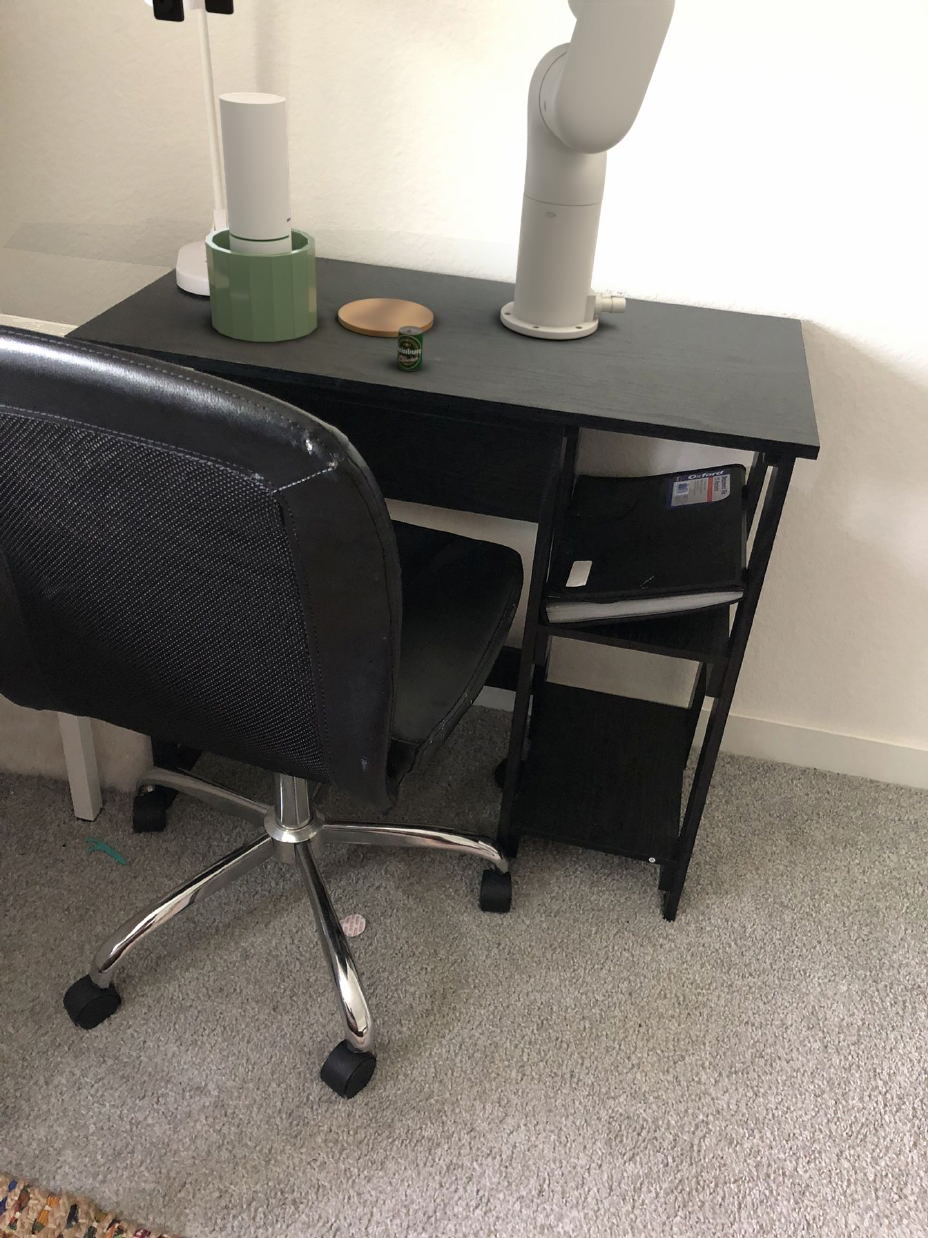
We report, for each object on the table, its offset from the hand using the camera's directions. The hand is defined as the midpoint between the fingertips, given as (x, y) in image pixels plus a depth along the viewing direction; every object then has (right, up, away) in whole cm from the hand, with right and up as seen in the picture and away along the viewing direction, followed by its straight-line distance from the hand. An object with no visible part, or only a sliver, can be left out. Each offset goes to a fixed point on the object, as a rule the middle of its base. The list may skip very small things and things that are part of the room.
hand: (195, 16), depth 105 cm
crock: (+3, -26, +19) cm, 33 cm away
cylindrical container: (+3, -26, +19) cm, 33 cm away
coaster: (+18, -25, +23) cm, 38 cm away
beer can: (+22, -34, +11) cm, 42 cm away
